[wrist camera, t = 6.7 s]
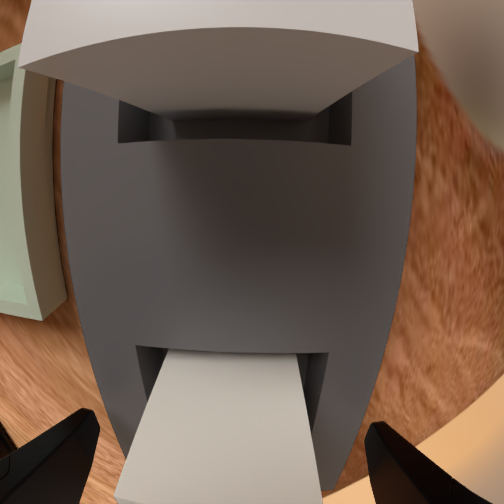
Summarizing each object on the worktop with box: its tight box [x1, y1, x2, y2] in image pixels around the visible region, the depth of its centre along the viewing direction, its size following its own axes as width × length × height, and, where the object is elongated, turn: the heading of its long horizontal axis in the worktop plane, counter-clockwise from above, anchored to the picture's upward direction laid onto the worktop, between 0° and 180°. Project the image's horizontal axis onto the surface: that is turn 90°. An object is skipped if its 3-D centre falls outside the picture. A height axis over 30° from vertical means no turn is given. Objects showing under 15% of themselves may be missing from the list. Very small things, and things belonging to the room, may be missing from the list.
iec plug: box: [113, 348, 323, 504], centre depth 8 cm, size 4×4×7 cm
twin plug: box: [17, 0, 419, 122], centre depth 5 cm, size 4×4×7 cm
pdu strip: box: [61, 55, 417, 491], centre depth 8 cm, size 25×9×3 cm, turn 179°
